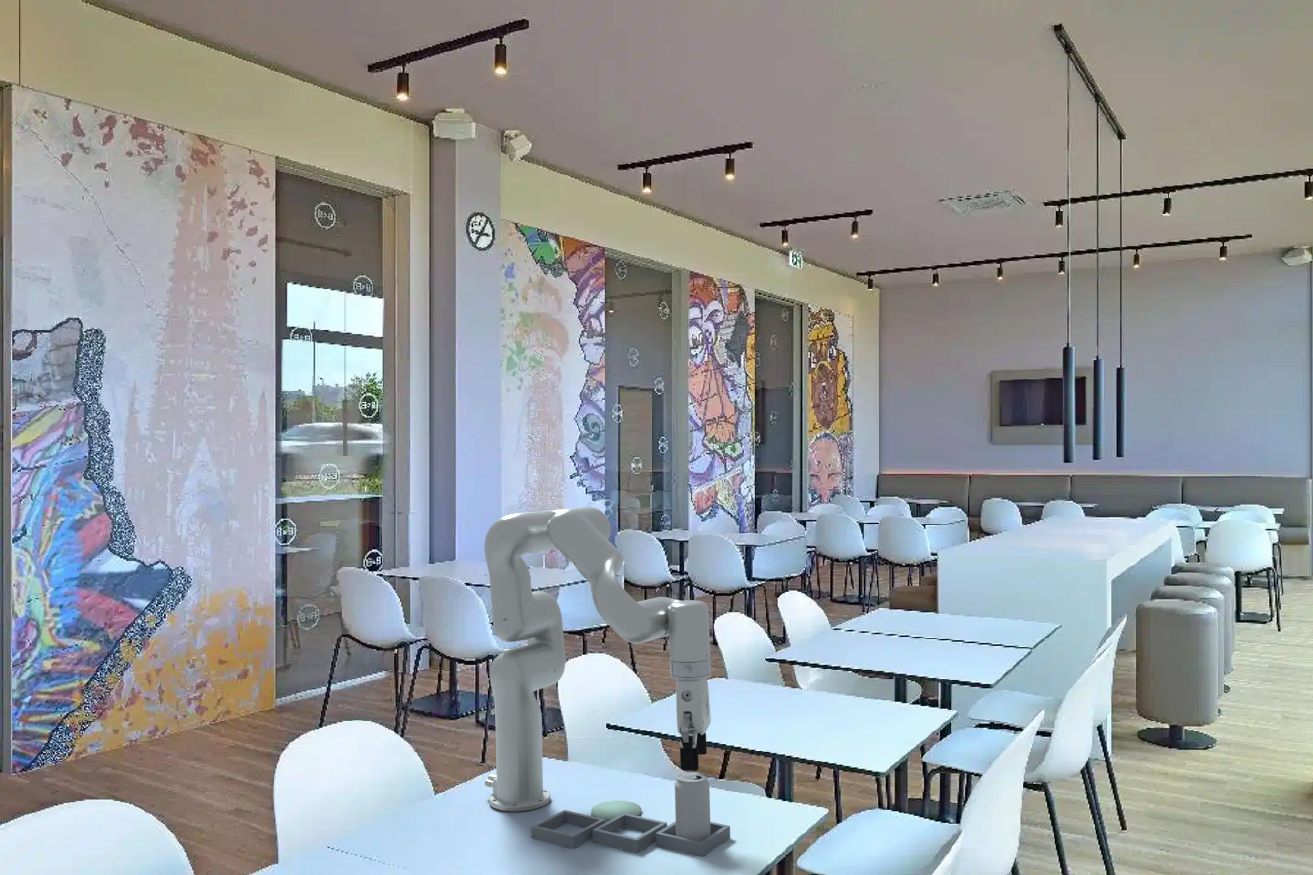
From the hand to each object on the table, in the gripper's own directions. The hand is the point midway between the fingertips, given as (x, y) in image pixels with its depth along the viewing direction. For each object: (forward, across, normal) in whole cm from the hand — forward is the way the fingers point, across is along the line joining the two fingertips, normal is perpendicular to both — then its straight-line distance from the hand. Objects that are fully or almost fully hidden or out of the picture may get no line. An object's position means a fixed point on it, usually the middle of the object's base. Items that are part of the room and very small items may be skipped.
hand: (694, 761), depth 183 cm
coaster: (+14, +13, +18) cm, 27 cm away
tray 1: (+14, 0, +25) cm, 28 cm away
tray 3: (+15, 0, +1) cm, 15 cm away
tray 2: (+14, 0, +13) cm, 19 cm away
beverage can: (+15, 0, +1) cm, 15 cm away
